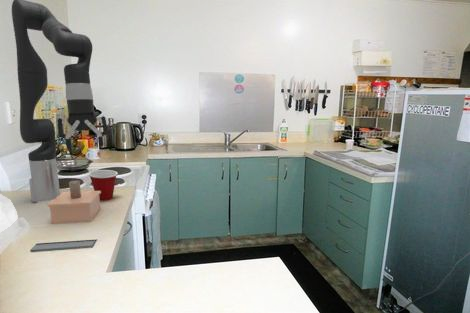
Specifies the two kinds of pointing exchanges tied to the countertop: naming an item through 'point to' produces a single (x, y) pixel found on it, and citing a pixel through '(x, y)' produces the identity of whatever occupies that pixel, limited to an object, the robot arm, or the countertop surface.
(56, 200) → the lid
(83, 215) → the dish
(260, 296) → the countertop surface
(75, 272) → the countertop surface
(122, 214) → the countertop surface
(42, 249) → the mat
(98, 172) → the plastic cup
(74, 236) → the countertop surface
